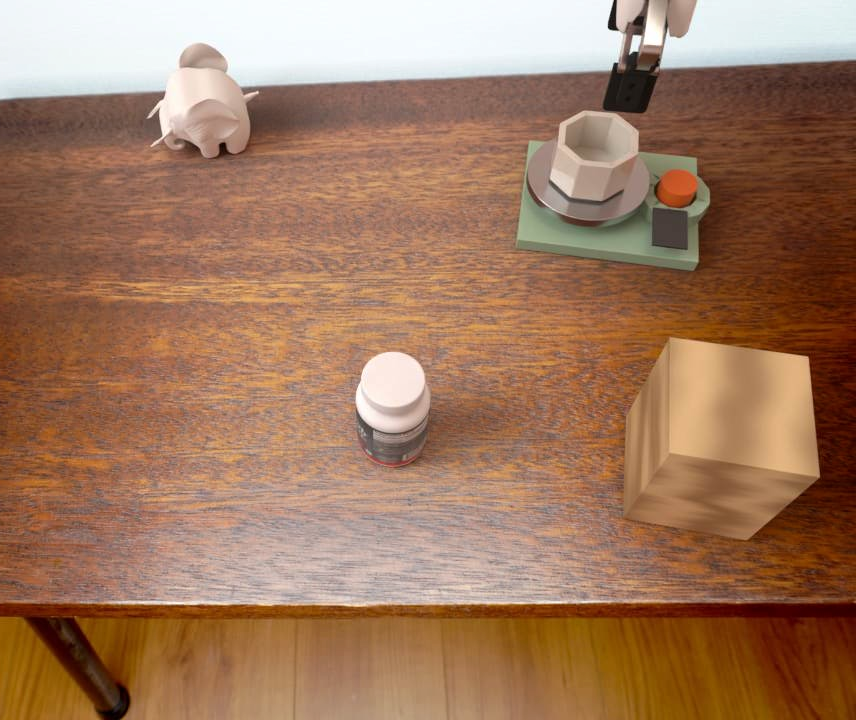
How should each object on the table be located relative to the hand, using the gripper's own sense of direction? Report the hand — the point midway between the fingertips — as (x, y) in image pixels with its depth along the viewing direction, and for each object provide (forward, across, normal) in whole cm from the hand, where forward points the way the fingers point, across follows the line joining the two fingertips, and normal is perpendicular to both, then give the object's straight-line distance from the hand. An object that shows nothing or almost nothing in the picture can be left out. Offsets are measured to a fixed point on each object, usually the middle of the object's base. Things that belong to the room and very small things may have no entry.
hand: (625, 68), depth 65 cm
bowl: (+12, 0, 0) cm, 12 cm away
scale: (+16, 0, -2) cm, 16 cm away
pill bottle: (+17, -28, +14) cm, 35 cm away
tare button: (+14, 0, -8) cm, 16 cm away
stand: (+17, -26, -9) cm, 33 cm away
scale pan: (+13, 0, -1) cm, 13 cm away
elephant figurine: (+16, +4, +39) cm, 42 cm away
